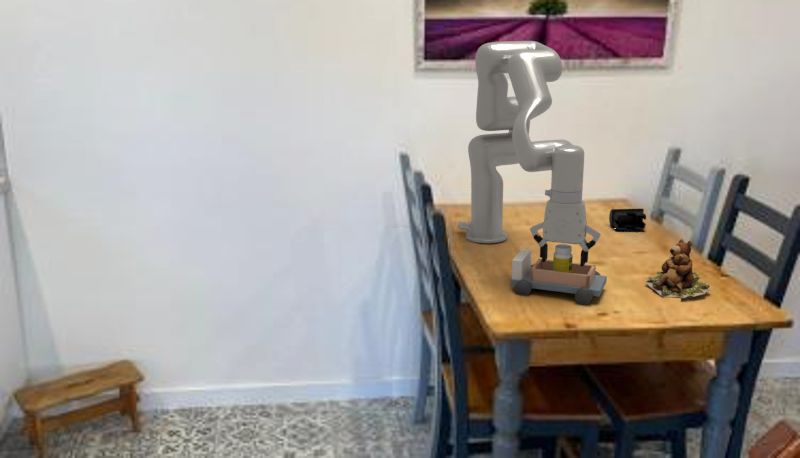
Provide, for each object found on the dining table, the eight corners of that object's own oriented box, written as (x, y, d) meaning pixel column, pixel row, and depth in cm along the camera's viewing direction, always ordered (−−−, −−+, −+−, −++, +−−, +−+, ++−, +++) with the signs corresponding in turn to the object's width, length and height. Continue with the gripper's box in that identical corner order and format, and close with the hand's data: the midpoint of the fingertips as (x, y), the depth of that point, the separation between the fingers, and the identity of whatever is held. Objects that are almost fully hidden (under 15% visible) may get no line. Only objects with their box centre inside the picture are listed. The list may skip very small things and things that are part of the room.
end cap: (639, 226, 249) (640, 206, 247) (646, 232, 242) (647, 212, 240) (608, 227, 249) (609, 207, 247) (614, 233, 242) (616, 212, 240)
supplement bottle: (571, 281, 191) (573, 249, 189) (552, 280, 192) (553, 248, 190) (571, 275, 196) (572, 243, 194) (552, 274, 197) (553, 243, 194)
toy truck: (508, 294, 193) (509, 262, 191) (522, 276, 206) (523, 246, 203) (597, 306, 185) (599, 273, 182) (607, 286, 197) (608, 255, 195)
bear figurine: (634, 283, 200) (637, 238, 197) (683, 276, 204) (687, 232, 201) (667, 302, 188) (671, 254, 184) (718, 294, 192) (723, 247, 188)
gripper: (527, 197, 188) (525, 263, 193) (599, 203, 181) (596, 271, 186) (535, 190, 194) (533, 254, 199) (605, 195, 188) (601, 262, 193)
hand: (563, 262), depth 193 cm, fingers open, 9 cm apart
